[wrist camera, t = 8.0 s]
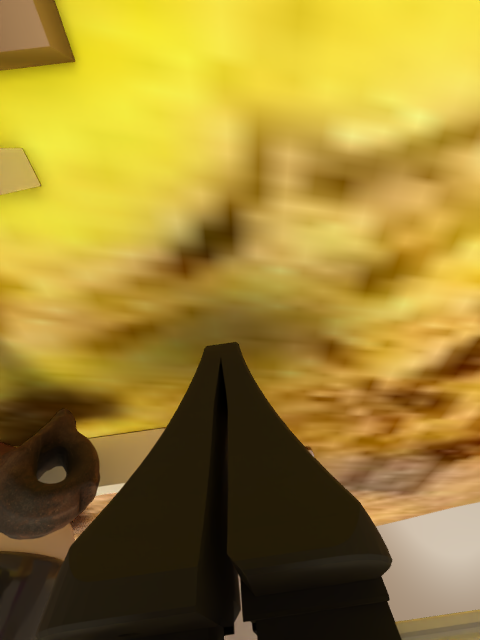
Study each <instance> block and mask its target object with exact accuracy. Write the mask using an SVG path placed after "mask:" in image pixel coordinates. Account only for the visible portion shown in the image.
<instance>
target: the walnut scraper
mask: <svg viewBox="0 0 480 640" xmlns="http://www.w3.org/2000/svg"><path fill="white" fill-rule="evenodd" d="M67 62H75V59H74V56H73V53H72V50H71V47H70V44H69V41H68V38H67V36H66V33H65V30H64V27H63V24H62V21H61V18H60V15H59V12H58V9H57V6H56V3H55V1H54V0H0V70H8V69H17V68H25V67H34V66H42V65H50V64H59V63H67Z"/></svg>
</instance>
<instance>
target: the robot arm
mask: <svg viewBox="0 0 480 640" xmlns="http://www.w3.org/2000/svg"><path fill="white" fill-rule="evenodd" d="M391 563H392V558H391V556H390V554H389V551H388V549H387V547H386V545H385V543H384V541H383V539H382V537H381V535H380V533H379V532H378V530H377V528H376V526H375V525H374V523H373V522H372V520H371V518H370V517H369V515H368V514H367V512H366V511H365V509H364V508H363V506H362V505H361V503H360V502H359V501H358V500H357V499H356V498H355V497H354V496H353V495H352V494H351V493H350V492H349V491H348V490H346V489H345V488H344V487H343V486H342V485H341V484H340V483H339V482H338V481H337V480H336V479H335V478H334V477H333V476H332V475H331V474H330V473H329V472H328V471H327V470H326V469H325V468H324V467H323V466H322V465H321V464H320V463H319V462H318V461H317V460H316V459H315V458H314V454H313V451H311V450H307V449H306V448H305V447H304V445H303V444H302V443H301V442H300V441H299V440H298V439H297V438H296V436H295V435H294V434H293V433H292V432H291V431H290V430H289V428H288V427H287V426H286V425H285V423H284V422H283V421H282V420H281V418H280V417H279V416H278V414H277V413H276V412H275V410H274V409H273V408H272V406H271V405H270V403H269V402H268V401H267V399H266V398H265V396H264V395H263V393H262V391H261V390H260V388H259V387H258V385H257V383H256V382H255V380H254V378H253V376H252V375H251V373H250V371H249V369H248V367H247V365H246V363H245V361H244V359H243V356H242V353H241V351H240V347H239V344H238V343H237V342H233V343H226V344H219V345H212V346H206V348H205V349H204V352H203V355H202V358H201V361H200V363H199V366H198V368H197V371H196V373H195V375H194V377H193V379H192V382H191V384H190V386H189V388H188V390H187V392H186V394H185V396H184V398H183V399H182V401H181V403H180V405H179V407H178V409H177V411H176V412H175V414H174V416H173V417H172V419H171V421H170V422H169V424H168V425H167V427H166V429H165V430H164V432H163V433H162V435H161V436H160V438H159V439H158V441H157V442H156V443H155V445H154V446H153V448H152V449H151V451H150V452H149V454H148V455H147V456H146V458H145V459H144V460H143V462H142V463H141V464H140V466H139V467H138V468H137V469H136V471H135V472H134V473H133V474H132V476H131V477H130V478H129V479H128V481H127V482H126V483H125V484H124V486H123V487H122V488H121V489H120V491H119V492H118V493H117V494H116V496H115V497H114V498H113V499H112V500H111V501H110V503H109V504H108V505H107V506H106V507H105V508H104V509H103V510H102V512H101V513H100V514H99V515H98V516H97V517H96V518H95V519H94V520H93V522H92V523H91V524H90V525H89V526H88V527H87V528H86V529H85V531H84V532H83V533H82V534H81V535H80V536H79V537H78V538H77V539H76V540H75V542H74V543H73V544H72V545H71V546H70V548H69V550H68V553H67V555H66V557H65V559H64V561H63V564H62V566H61V568H60V570H59V573H58V575H57V578H56V580H55V583H54V585H53V588H52V591H51V594H50V596H49V599H48V602H47V605H46V607H45V610H44V613H43V616H42V618H41V621H40V624H39V627H38V629H37V632H36V635H35V636H36V638H37V640H224V636H225V640H480V610H473V611H467V612H459V613H453V614H446V615H439V616H433V617H426V618H419V619H412V620H405V621H398V622H395V621H394V618H393V615H392V613H391V610H390V607H389V605H388V602H387V601H389V595H388V593H387V590H386V587H385V585H384V582H383V579H382V577H381V576H382V575H383V574H384V573H385V572H386V571H387V570H388V569H389V568H390V566H391Z"/></svg>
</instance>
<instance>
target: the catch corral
mask: <svg viewBox="0 0 480 640" xmlns="http://www.w3.org/2000/svg"><path fill="white" fill-rule="evenodd" d="M38 186H41V185H40V183H39V181H38V179H37V177H36V175H35V173H34V171H33V169H32V167H31V165H30V163H29V161H28V159H27V157H26V155H25V153H24V151H23V149H22V148H0V195H2V194H7V193H11V192H16V191H20V190H25V189H29V188H34V187H38ZM164 430H165V428H161V429H154V430H147V431H140V432H133V433H126V434H119V435H112V436H105V437H98V438H91V439H89V440H90V441H91V443H92V444H93V446H94V447H95V449H96V451H97V453H98V457H99V465H100V470H99V473H100V482H99V486H98V489H97V493H96V495H95V496H97V495H104V494H111V493H118V492H119V491H120V489H121V488H122V487H123V486H124V484H125V483H126V482H127V481H128V479H129V478H130V477H131V476H132V474H133V473H134V472H135V471H136V469H137V468H138V467H139V466H140V464H141V463H142V462H143V460H144V459H145V458H146V456H147V455H148V454H149V452H150V451H151V449H152V448H153V446H154V445H155V443H156V442H157V441H158V439H159V438H160V436H161V435H162V433H163V432H164ZM65 477H66V471H65V469H64V468H63V467H62V466H57V467H54V468H53V469H51V470H49V471H46V472H45V473H44V474H43V475H42V476H41V477H40V478H39V479H38V480H39V481H40V482H43V483H48V484H52V483H58V482H61V481H63V480H64V479H65Z"/></svg>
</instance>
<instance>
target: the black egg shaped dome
mask: <svg viewBox="0 0 480 640" xmlns="http://www.w3.org/2000/svg"><path fill="white" fill-rule="evenodd" d="M74 542H75V539H74V532H73V529H72V526H71V524H70V523H69V524H68V525H66V526H65V527H64V528H62V529H60V530H57V531H55V532H53V533H51V534H48V535H46V536H43V537H41V538H37V539H24V540H18V539H12V538H9V537H8V536H6V535H4V534H3V533H0V640H37V638H36V636H35V635H36V632H37V629H38V627H39V624H40V621H41V618H42V616H43V613H44V610H45V607H46V605H47V602H48V599H49V596H50V594H51V591H52V588H53V585H54V583H55V580H56V578H57V575H58V573H59V570H60V568H61V566H62V564H63V561H64V559H65V557H66V555H67V553H68V550H69V548H70V546H71V545H72V544H73V543H74Z"/></svg>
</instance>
